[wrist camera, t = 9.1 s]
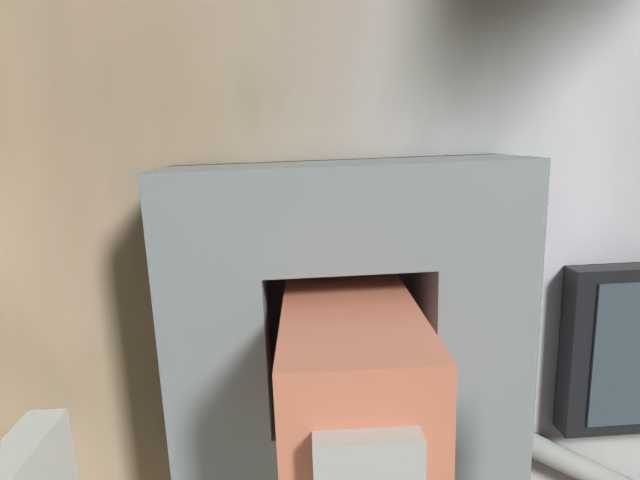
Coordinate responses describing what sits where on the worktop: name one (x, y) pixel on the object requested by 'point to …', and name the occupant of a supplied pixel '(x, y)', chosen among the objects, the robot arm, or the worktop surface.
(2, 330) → the worktop surface
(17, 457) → the robot arm
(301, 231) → the outlet plate
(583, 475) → the cable
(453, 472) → the block
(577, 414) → the phone
